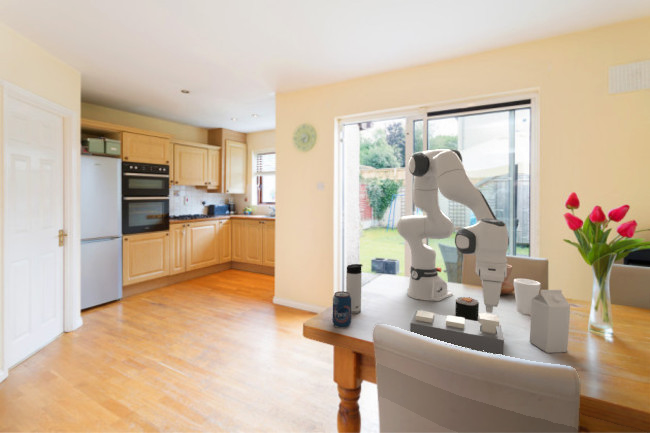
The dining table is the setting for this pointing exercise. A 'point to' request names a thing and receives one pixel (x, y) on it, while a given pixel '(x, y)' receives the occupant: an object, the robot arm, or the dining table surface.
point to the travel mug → (354, 286)
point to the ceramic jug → (506, 283)
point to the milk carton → (550, 321)
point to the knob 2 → (488, 322)
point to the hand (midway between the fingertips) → (489, 311)
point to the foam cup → (525, 294)
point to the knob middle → (455, 321)
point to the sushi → (467, 308)
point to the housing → (460, 334)
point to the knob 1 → (425, 316)
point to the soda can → (342, 309)
